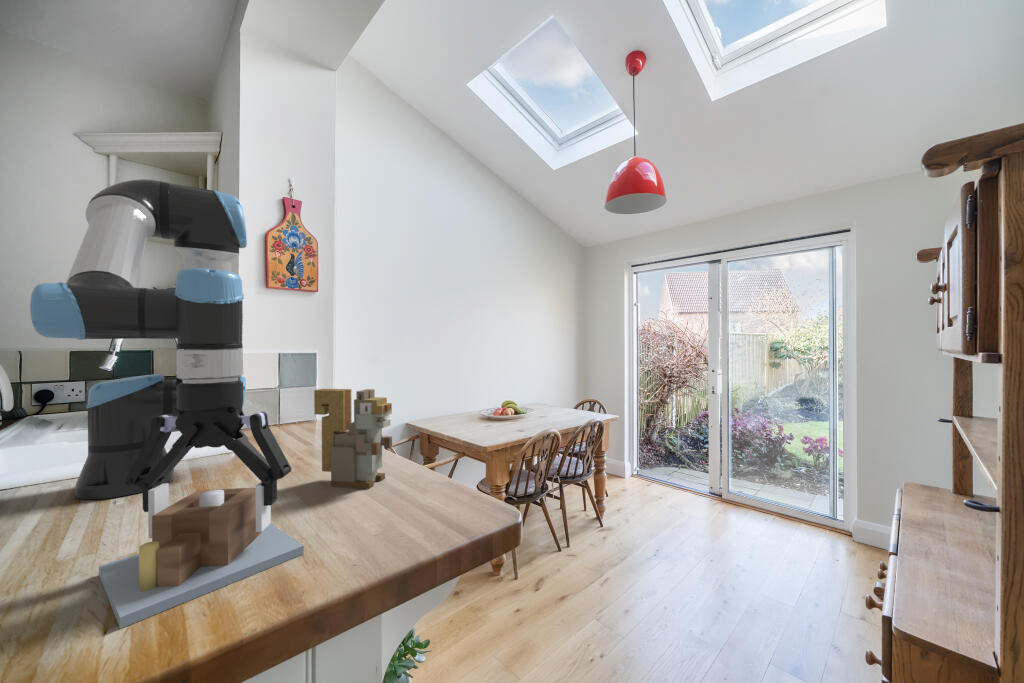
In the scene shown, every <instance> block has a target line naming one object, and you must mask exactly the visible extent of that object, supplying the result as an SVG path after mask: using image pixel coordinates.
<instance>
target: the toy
mask: <svg viewBox="0 0 1024 683" xmlns="http://www.w3.org/2000/svg"><path fill="white" fill-rule="evenodd" d="M313 393H314V399H313V400H314V415H317V416H318V415H323V416H321V472H326V473H327V472H329V473H330V482H331V483H330V486H331V487H338V488H340V487H341V488H350V489H351V488H353V489H365V490H367V489H368V490H370V489H371V488H373V487H374V485H375V484H374V483H375V482H382V481H383V480H385V479H386V473H384V472H378V470H380V469H381V468H383V447H384V449H388V450H389V449H391V448H393V436H389V435H383V429H384V428H386V427H389V426H391V419H389V418H390V415H392V413H393V412H392V411H393V410H392V409H393V406H392V404H393V403H392V402H388V400H387V399H388V398H387V397H383V396H382V397H377V396H375V395H376V393H375V388H366V389H362V390H357V391H356V399H353V412H352V389H351V388H319V389H314V390H313ZM352 413H353V418H352ZM352 420H353V422H352Z"/></svg>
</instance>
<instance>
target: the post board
mask: <svg viewBox="0 0 1024 683" xmlns="http://www.w3.org/2000/svg"><path fill="white" fill-rule="evenodd" d="M210 490H211V491H207V492H204V493H202V494H200V495H199V507H209V506H220V505H222V504H223V503H224V490H215V489H210ZM158 549H159V542H158V541H152V540H151V541H149V542H145V543H143V544H141V545H140V546H139V547H138V553H136V554H134V555H133V554H132V555H130V556H127V557H123V558H120V559H117V560H114V561H113V560H112V561H111V562H108V563H105V564H101V565H98V576H99V579H100V582H101V584H102V587H103V590H104V592H105V595H106V597H107V598H108V602H109V604H110V608H111V609H112V612H113V614H114V616H115V619H116V622H117V624H118V628H119V630H120V629H123V628H125V627H129V626H131V625H133V624H136V623H139V622H140V621H142V620H145V619H148V618H150V617H152V616H155V615H157V614H159V613H163V612H165V611H167V610H170V609H172V608H174V607H177V606H180V605H182V604H185V603H187V602H189V601H192V600H194V599H197V598H199V597H202V596H204V595H206V594H209V593H211V592H214V591H216V590H219V589H221V588H223V587H227V586H229V585H231V584H234V583H235V582H238V581H241V580H244V579H246V578H248V577H250V576H253V575H255V574H258V573H260V572H263V571H265V570H268V569H271V568H273V567H275V566H278V565H280V564H282V563H285V562H288V561H290V560H293V559H295V558H297V557H299V556H302V555H304V554H305V552H304V550H305V547H304V544H302V543H300V542H299V541H298V540H296V539H294V538H293V537H292V536H290V535H289V534H287V533H286V532H284V531H283V530H281V529H280V528H278V527H277V526H275V525H274V524H272V522H271V523H270V524H269V525H268V526H267V527H266V528H265V529H264V530H263V531H262V533H261V534H260V535H259V536H258V537H257V538H256V539H255V540H254V541H253V542H252V543H251V544H250V545H249V546H248V547H247V548H245V549H244V550H243V551H242V552H241V553H240V554H239V555H238V556H237V557H236V558H235V559H234V560H233V561H232V562H231V563H230V564H229V565H223V566H209V567H200V568H199V569H198V570H197V571H196V572H195V573H193V574H192V575H191V576H190V577H189V578H188V579H187V580H185V581H184V582H183V583H182V584H181V585H180V586H169V587H157V550H158Z"/></svg>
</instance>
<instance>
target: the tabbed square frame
mask: <svg viewBox="0 0 1024 683" xmlns="http://www.w3.org/2000/svg"><path fill="white" fill-rule="evenodd" d="M211 490H212V489H200V490H195V491H194V492H192V493H191V494H188V495H187V496H185V497H184V498H183V497H182V498H181V499H179V500H178V501H176V502H175V503H173V504H171V505H169V507H167V508H166V509H164V510H162V511H160V512H158V513H157V514H155V515H153V516H152V538H151V542H152V541H158V542H159V549H158V550H157V587H169V586H180V585H181V584H182V583H183V582H184V581H185V580H187V579H188V578H189V577H190V576H191V575H192V574H193V573H195V572H196V571H197V570H198V569H199V568H200V567H209V566H223V565H229V564H230V563H231V562H232V561H233V560H234V559H235V558H236V557H237V556H238V555H239V554H240V553H241V552H242V551H243V550H244V549H245V548H247V547H248V546H249V545H250V544H251V543H252V542H253V541H254V540H255V539H256V538H257V537H258V536H259V535H260V534H261V533H262V532H256V487H239V488H220V489H219V488H218V489H214V490H224V503H223V504H222V505H220V506H209V507H199V495H200V494H202V493H204V492H207V491H211Z"/></svg>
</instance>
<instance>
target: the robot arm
mask: <svg viewBox="0 0 1024 683" xmlns="http://www.w3.org/2000/svg"><path fill="white" fill-rule="evenodd" d="M85 209H86V210H85V220H86V221H87V223H88V226H87V229H86V231H85V233H84V234H85V235H84V237H83V239H82V242H81V244H80V246H79V249H78V252H77V254H76V256H75V259H74V261H73V264H72V267H71V270H70V272H69V273H68V276H67V278H66V282H63V281H59V282H43V283H41V284H40V283H38V284H37V285H36V286H35V287H33V290H32V292H31V294H30V302H29V304H30V305H29V307H30V309H29V310H30V311H29V312H30V318H31V319H30V320H31V323H32V326H33V328H34V330H35V332H36V333H37V334H38V335H39V336H42V337H45V338H51V339H52V338H53V339H76V340H79V341H82V340H111V339H113V340H114V339H117V340H118V339H119V340H120V339H121V340H122V339H126V340H128V339H135V340H136V339H148V340H151V339H159V340H160V339H163V340H165V339H167V340H170V339H171V340H172V339H173V340H174V339H175V340H176V372H175V379H167V380H166V379H165V376H164V375H163V374H162V373H156V374H147V375H146V374H145V375H139V376H130V377H125V378H118V379H112V380H105V381H101V382H98V383H95V384H93V385H92V386H91V387H90V388H89V390H88V393H87V394H88V395H87V405H86V407H85V408H86V409H87V457H86V459H85V462H84V464H83V467H82V468H81V471H80V473H79V476H78V478H77V481H76V483H75V486H74V487H75V488H74V489H75V498H77V499H82V500H101V499H111V498H118V497H124V496H129V495H135V494H138V493H142V510H143V512H144V513H148V514H147V516H148V517H147V519H148V521H147V522H148V523H147V524H148V539H152V516H153V515H155V514H157V513H158V512H160V511H162V510H164V509H166V508H167V507H169V506H170V482H172V481H173V480H174V479H175V468H176V466H177V465H178V464H179V463H180V462H181V461H182V459H184V457H185V456H186V455H187V454H188V453H189V452H190V450H191V449H192V448H194V449H202V448H205V447H210V448H221V447H225V448H226V449H227V450H228V451H232V453H234V454H235V455H236V457H237V458H238V459H239V460H240V461H241V462H242V463H243V464H244V465H245V466H246V467H247V468H248V469H249V470H250V471H251V472H252V473H253V474H254V475H255V476H256V478H257V479H258V480H259V481H260V482H259V483H257V484H255V488H256V532H262V531H263V530H264V529H265V528H266V527H267V526H268V525H269V524H270V523H271V524H272V508H271V507H272V505H273V504H274V503H276V501H277V500H278V480H281V479H283V478H284V477H285V476H287V475H288V474H290V473H291V471H292V466H291V465H290V463H289V461H288V459H287V457H286V456H285V454H284V451H283V450H282V448H281V446H280V444H279V442H278V441H277V439H276V437H275V435H274V434H273V431H272V430H271V428H270V426H269V419H268V413H267V412H265V411H260V412H256V413H254V414H253V413H252V414H247V415H246V414H245V413H244V411H243V410H244V404H245V398H246V388H247V387H246V386H247V384H246V383H247V380H246V378H245V376H243V375H244V351H243V350H244V349H243V345H244V344H243V323H244V322H243V321H244V320H243V318H244V317H243V315H244V314H243V312H244V311H243V300H244V297H245V295H244V293H243V292H244V291H243V280H242V278H241V276H240V275H239V274H238V273H236V272H233V271H232V261H234V260H235V259H236V258H238V257H239V256H240V249H245V248H247V245H248V238H247V228H246V227H247V226H246V219H245V214H244V210H243V206H242V203H241V200H240V199H239V198H238V197H237V196H235V195H233V194H230V193H225V192H221V191H217V190H214V189H213V190H212V189H208V188H207V189H206V188H200V187H195V186H190V185H189V186H188V185H182V184H178V183H171V182H165V181H161V180H155V179H132V180H131V179H130V180H126V181H122V182H118V183H114V184H112V185H110V186H107V187H106V188H104V189H102V190H100V191H99V192H98V193H96V194H95V195H94V196H93V197H91V199H90V201H89V202H88V204H87V206H86V208H85ZM150 238H159V239H165V240H172V241H173V248H174V250H175V251H176V252H177V253H179V254H180V255H181V257H182V259H183V260H182V261H183V269H181V270H179V271H178V272H177V274H176V281H175V282H176V283H175V284H176V285H175V289H162V288H147V287H146V288H144V287H139V284H140V279H141V272H142V267H143V263H144V262H143V261H144V257H145V256H144V254H145V251H146V244H147V241H148V240H149V239H150ZM245 425H246V428H247V429H248V430H250V431H251V435H252V436H253V439H254V440H255V442H256V444H257V445H258V448H259V449H260V451H261V452H262V453H261V452H259V450H258V449H257V448H256V447H255V446H254V445H253V444H252V443H251V442H250V441H249V437H248V436H247V435H246V434H245V433H244V432H243V430H242V428H243V426H245ZM176 432H180V434H181V435H180V436H179V437H178V439H176V441H175V442H174V443H172V445H171V448H170V449H169V450H168V451H167V449H166V447H165V446H166V444H167V443H168V440H169V439H170V436H171V435H172V433H176Z"/></svg>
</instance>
